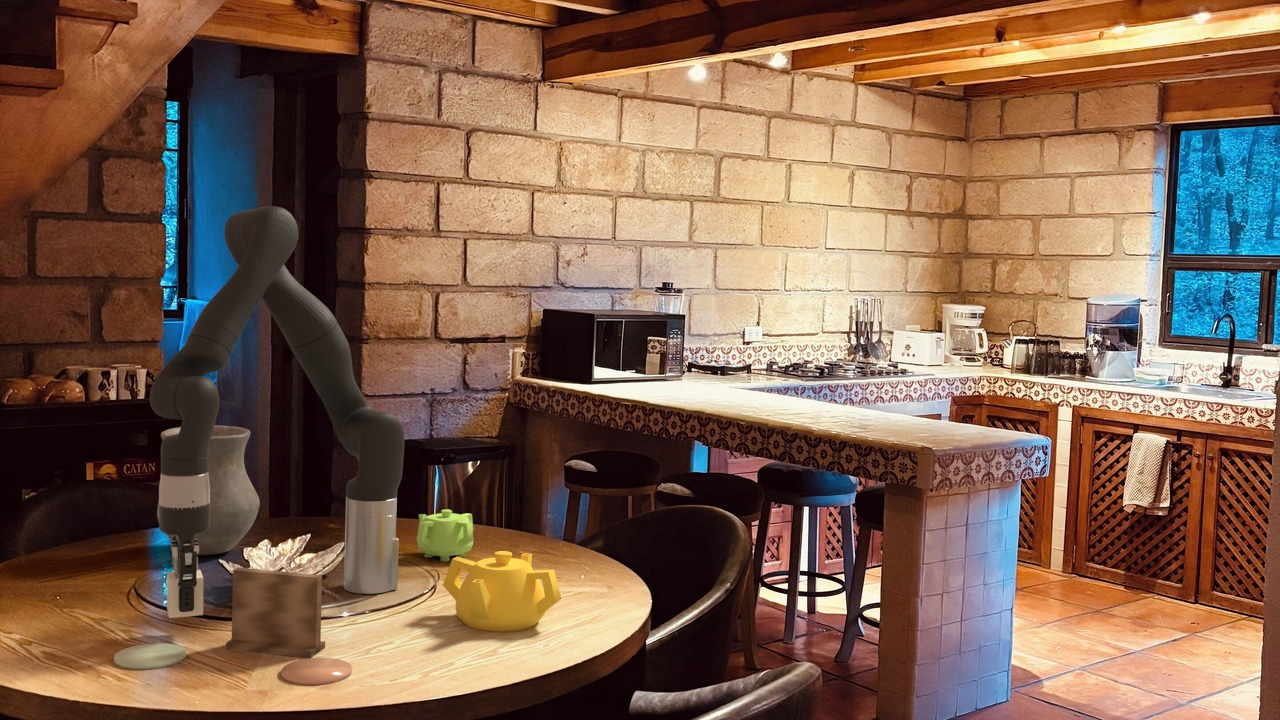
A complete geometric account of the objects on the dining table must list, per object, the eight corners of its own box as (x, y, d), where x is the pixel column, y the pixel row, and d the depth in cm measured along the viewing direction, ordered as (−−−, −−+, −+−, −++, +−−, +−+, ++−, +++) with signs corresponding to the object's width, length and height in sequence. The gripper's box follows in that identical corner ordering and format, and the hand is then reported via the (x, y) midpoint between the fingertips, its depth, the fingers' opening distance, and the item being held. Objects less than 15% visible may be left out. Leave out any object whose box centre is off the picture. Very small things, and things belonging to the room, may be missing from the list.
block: (200, 606, 191) (200, 568, 190) (203, 614, 186) (203, 576, 186) (166, 609, 188) (167, 571, 188) (169, 618, 184) (169, 579, 183)
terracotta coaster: (344, 658, 180) (344, 654, 180) (358, 680, 171) (358, 676, 171) (276, 665, 176) (276, 661, 175) (287, 688, 167) (287, 683, 166)
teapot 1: (472, 550, 252) (474, 504, 252) (474, 563, 241) (475, 515, 240) (416, 549, 250) (418, 504, 250) (415, 563, 239) (417, 515, 238)
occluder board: (225, 648, 182) (227, 572, 181) (242, 639, 187) (243, 564, 186) (310, 657, 180) (312, 580, 179) (325, 647, 184) (326, 572, 184)
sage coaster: (183, 644, 183) (183, 640, 183) (188, 665, 174) (188, 661, 174) (113, 650, 179) (113, 647, 179) (114, 672, 170) (114, 668, 170)
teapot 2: (563, 630, 199) (566, 560, 198) (469, 640, 192) (471, 567, 191) (528, 603, 214) (530, 538, 213) (439, 611, 207) (441, 544, 206)
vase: (237, 565, 231) (240, 439, 229) (141, 561, 231) (142, 434, 229) (270, 542, 251) (273, 426, 249) (181, 538, 251) (183, 422, 249)
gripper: (214, 508, 181) (214, 616, 182) (205, 490, 194) (205, 591, 195) (162, 511, 178) (162, 621, 179) (156, 493, 191) (156, 596, 192)
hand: (184, 605), depth 187 cm, fingers closed on block, 5 cm apart
